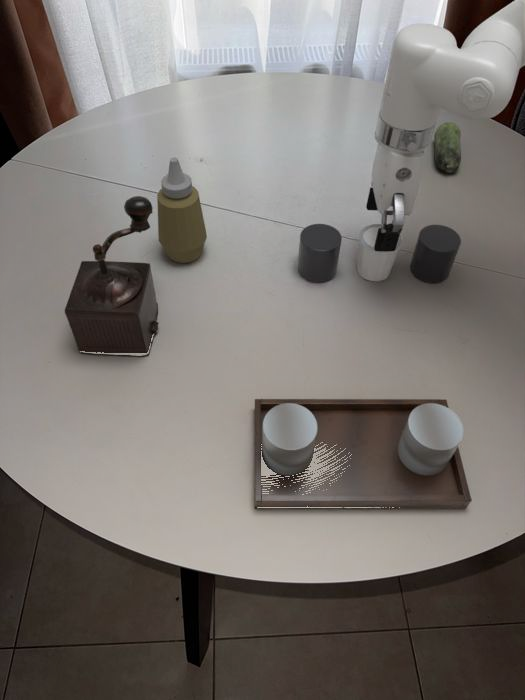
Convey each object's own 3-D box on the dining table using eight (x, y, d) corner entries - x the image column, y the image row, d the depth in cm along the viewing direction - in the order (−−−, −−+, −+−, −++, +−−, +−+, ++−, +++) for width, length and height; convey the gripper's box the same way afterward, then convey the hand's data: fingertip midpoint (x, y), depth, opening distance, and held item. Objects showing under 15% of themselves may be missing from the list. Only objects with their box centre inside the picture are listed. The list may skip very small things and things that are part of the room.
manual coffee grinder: (153, 358, 85) (134, 267, 71) (78, 354, 85) (44, 263, 71) (168, 283, 95) (154, 190, 81) (100, 280, 95) (75, 187, 81)
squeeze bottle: (210, 237, 102) (204, 145, 88) (205, 269, 97) (198, 177, 83) (164, 235, 102) (150, 143, 88) (157, 267, 97) (142, 174, 83)
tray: (442, 408, 80) (457, 377, 74) (466, 508, 71) (485, 481, 65) (254, 408, 80) (255, 376, 74) (254, 509, 71) (255, 481, 65)
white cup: (374, 250, 100) (381, 218, 95) (402, 272, 97) (411, 240, 92) (344, 266, 98) (350, 233, 92) (372, 289, 94) (379, 257, 89)
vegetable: (431, 138, 123) (437, 116, 119) (456, 141, 123) (463, 119, 119) (432, 176, 114) (438, 154, 111) (458, 179, 114) (466, 157, 110)
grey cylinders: (444, 256, 100) (456, 224, 94) (453, 283, 96) (465, 251, 90) (296, 255, 99) (299, 223, 94) (298, 283, 95) (301, 250, 90)
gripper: (445, 167, 72) (412, 267, 86) (420, 96, 83) (395, 195, 96) (385, 166, 72) (362, 266, 85) (368, 95, 83) (350, 194, 96)
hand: (379, 228), depth 91 cm, fingers open, 9 cm apart
